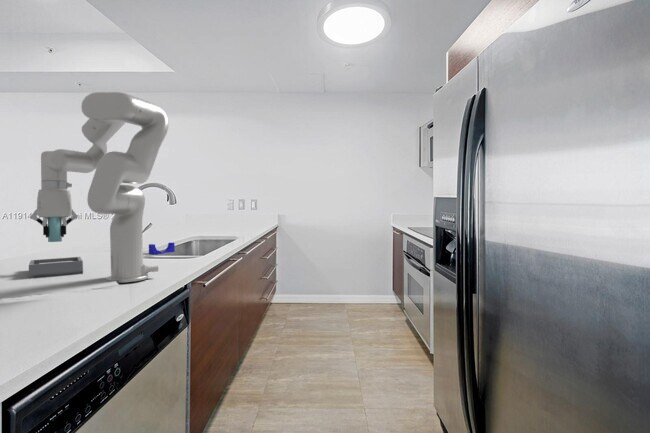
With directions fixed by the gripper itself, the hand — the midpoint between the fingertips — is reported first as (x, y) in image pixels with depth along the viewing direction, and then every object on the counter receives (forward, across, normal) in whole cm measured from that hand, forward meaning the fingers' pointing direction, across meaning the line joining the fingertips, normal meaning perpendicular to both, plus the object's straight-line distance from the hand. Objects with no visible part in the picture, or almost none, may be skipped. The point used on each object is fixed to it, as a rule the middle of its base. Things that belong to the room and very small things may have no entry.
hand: (54, 236), depth 134 cm
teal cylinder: (+2, 0, 0) cm, 2 cm away
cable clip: (+14, -44, -32) cm, 56 cm away
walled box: (+13, 0, +1) cm, 13 cm away
